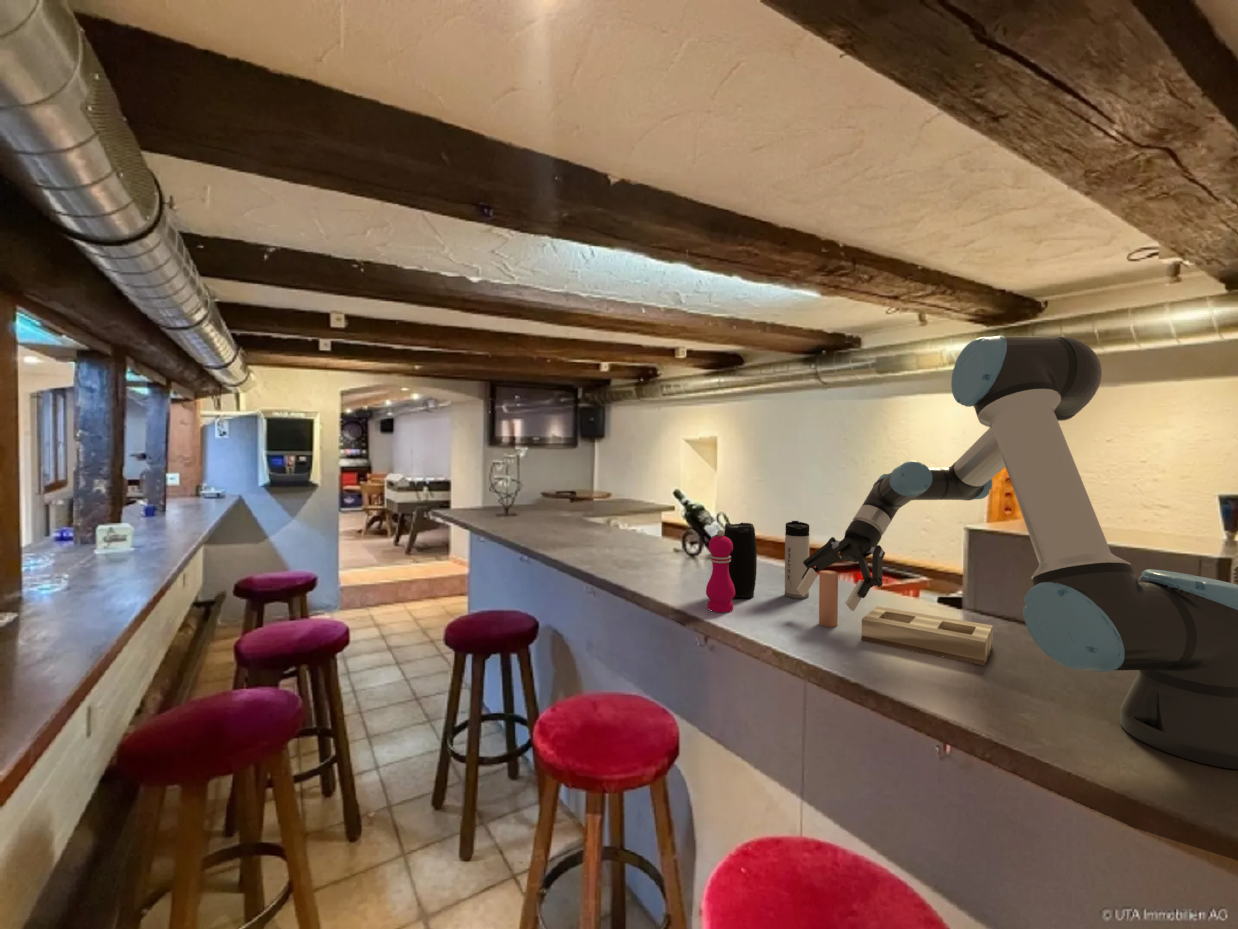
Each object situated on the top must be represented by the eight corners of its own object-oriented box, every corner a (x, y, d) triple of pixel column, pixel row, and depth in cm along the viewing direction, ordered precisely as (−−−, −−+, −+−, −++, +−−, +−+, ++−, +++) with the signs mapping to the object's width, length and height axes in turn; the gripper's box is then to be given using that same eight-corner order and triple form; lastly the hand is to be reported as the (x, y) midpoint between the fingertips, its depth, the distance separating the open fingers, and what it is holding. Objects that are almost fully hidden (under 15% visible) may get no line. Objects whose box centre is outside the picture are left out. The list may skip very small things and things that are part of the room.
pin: (834, 628, 128) (834, 575, 127) (816, 624, 130) (816, 572, 130) (839, 624, 131) (840, 572, 130) (822, 620, 133) (823, 569, 133)
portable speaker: (715, 596, 154) (715, 524, 154) (737, 590, 161) (737, 521, 160) (741, 602, 148) (741, 527, 147) (762, 596, 154) (763, 524, 153)
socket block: (984, 665, 106) (985, 642, 106) (861, 640, 120) (861, 619, 120) (992, 647, 116) (992, 625, 115) (877, 625, 129) (877, 606, 129)
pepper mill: (735, 614, 138) (735, 532, 137) (705, 612, 139) (705, 531, 139) (735, 606, 145) (735, 528, 144) (706, 604, 146) (706, 527, 146)
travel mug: (805, 592, 158) (806, 520, 157) (811, 599, 151) (812, 524, 150) (782, 592, 158) (783, 520, 157) (787, 598, 152) (787, 524, 151)
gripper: (923, 547, 128) (880, 624, 121) (830, 531, 149) (789, 596, 142) (909, 525, 125) (865, 603, 118) (817, 512, 146) (774, 578, 139)
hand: (823, 599), depth 130 cm, fingers open, 13 cm apart
